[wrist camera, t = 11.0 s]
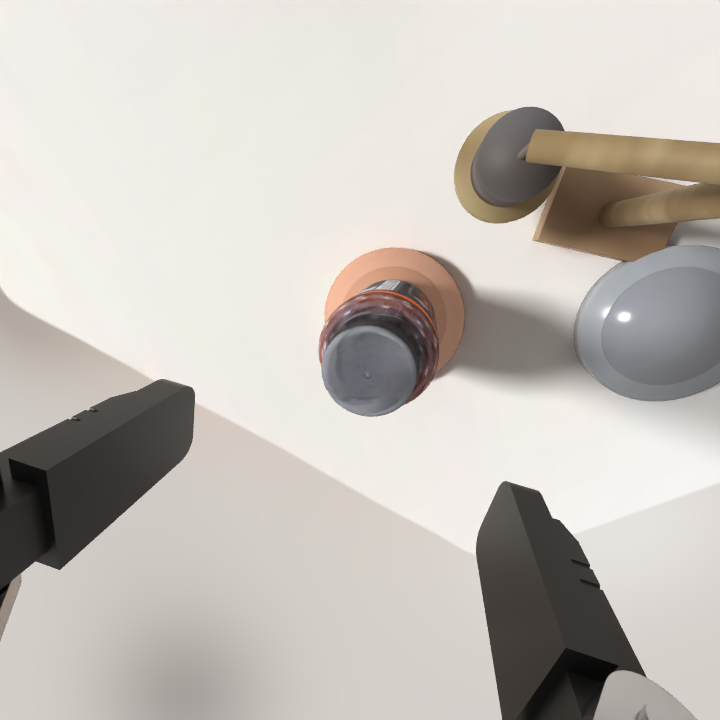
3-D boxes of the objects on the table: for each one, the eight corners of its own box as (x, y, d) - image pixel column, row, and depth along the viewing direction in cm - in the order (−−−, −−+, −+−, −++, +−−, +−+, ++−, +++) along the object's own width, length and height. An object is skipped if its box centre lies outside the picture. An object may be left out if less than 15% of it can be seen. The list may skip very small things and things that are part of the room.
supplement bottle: (448, 342, 24) (465, 417, 14) (371, 371, 26) (335, 456, 15) (416, 262, 23) (408, 276, 12) (338, 298, 25) (273, 337, 14)
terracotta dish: (343, 232, 25) (338, 232, 23) (482, 266, 24) (485, 267, 22) (318, 361, 28) (313, 366, 27) (439, 394, 27) (440, 401, 26)
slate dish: (615, 228, 22) (626, 227, 20) (786, 266, 21) (809, 268, 19) (550, 372, 25) (556, 379, 24) (694, 410, 24) (708, 419, 23)
